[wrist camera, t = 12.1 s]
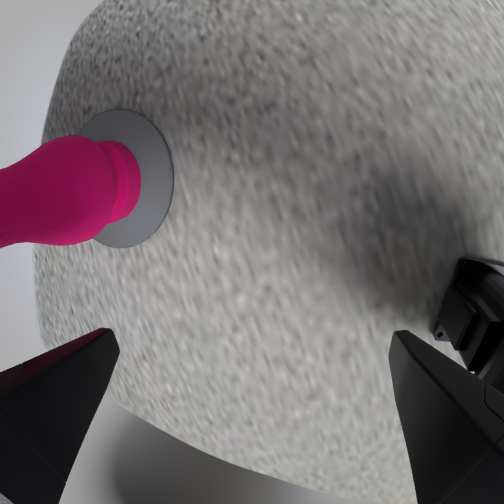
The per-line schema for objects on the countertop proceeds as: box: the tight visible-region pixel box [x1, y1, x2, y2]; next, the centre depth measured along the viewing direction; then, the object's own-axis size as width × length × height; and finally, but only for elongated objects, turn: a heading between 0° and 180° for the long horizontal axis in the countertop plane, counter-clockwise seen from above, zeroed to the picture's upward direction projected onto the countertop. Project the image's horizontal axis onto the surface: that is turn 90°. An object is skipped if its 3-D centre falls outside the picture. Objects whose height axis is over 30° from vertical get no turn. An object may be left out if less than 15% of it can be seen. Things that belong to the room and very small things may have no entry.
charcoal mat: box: [78, 110, 174, 248], centre depth 21 cm, size 11×11×1 cm
